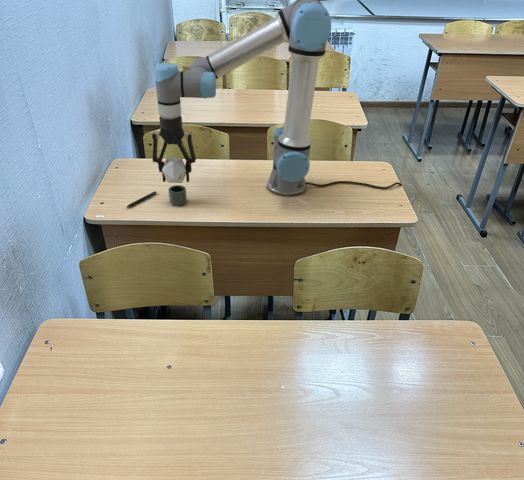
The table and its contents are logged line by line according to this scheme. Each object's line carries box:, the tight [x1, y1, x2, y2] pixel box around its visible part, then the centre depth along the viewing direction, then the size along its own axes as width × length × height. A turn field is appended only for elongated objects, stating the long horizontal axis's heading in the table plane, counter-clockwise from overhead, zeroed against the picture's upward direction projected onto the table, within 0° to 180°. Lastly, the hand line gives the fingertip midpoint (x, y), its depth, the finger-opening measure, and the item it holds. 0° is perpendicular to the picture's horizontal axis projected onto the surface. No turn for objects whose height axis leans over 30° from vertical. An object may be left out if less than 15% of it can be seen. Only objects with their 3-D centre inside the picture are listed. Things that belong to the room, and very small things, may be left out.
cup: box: [168, 184, 188, 207], centre depth 191 cm, size 6×6×6 cm
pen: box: [126, 191, 157, 208], centre depth 192 cm, size 1×16×1 cm, turn 145°
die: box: [161, 157, 186, 184], centre depth 184 cm, size 8×9×10 cm
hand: (176, 180), depth 186 cm, fingers closed on die, 8 cm apart
